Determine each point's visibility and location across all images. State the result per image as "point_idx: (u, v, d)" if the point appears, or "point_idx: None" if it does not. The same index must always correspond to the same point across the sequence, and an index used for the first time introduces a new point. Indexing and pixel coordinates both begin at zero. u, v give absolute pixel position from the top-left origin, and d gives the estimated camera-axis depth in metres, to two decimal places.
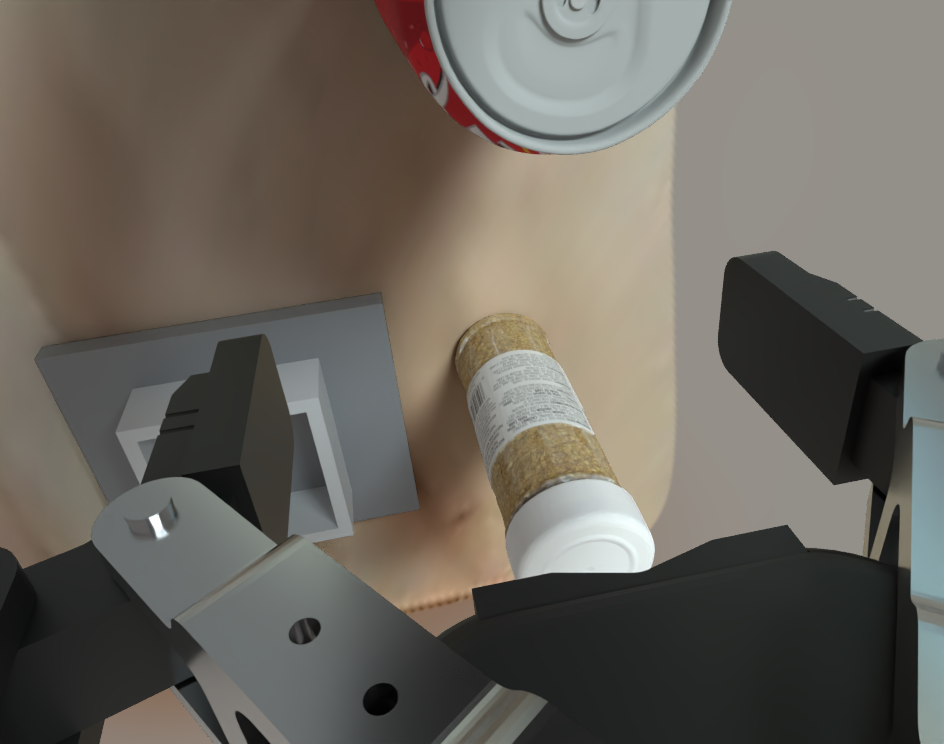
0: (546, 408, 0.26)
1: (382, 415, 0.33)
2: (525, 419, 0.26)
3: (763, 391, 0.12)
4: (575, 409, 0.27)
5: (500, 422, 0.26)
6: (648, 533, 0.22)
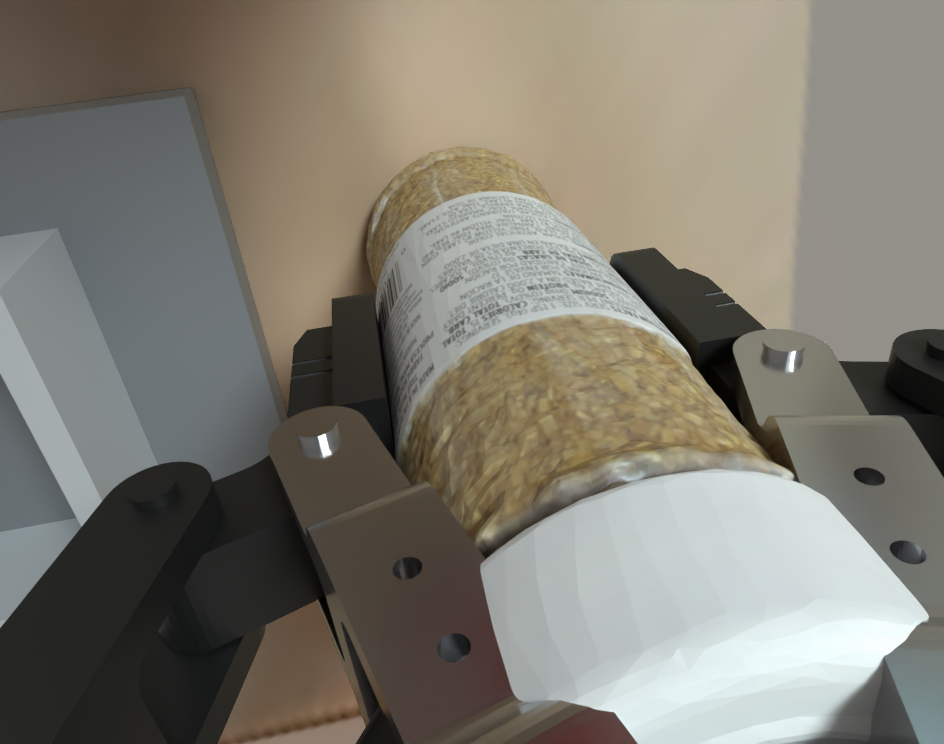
0: (553, 284, 0.09)
1: (221, 364, 0.16)
2: (494, 311, 0.09)
3: None
4: (632, 296, 0.10)
5: (428, 328, 0.10)
6: None
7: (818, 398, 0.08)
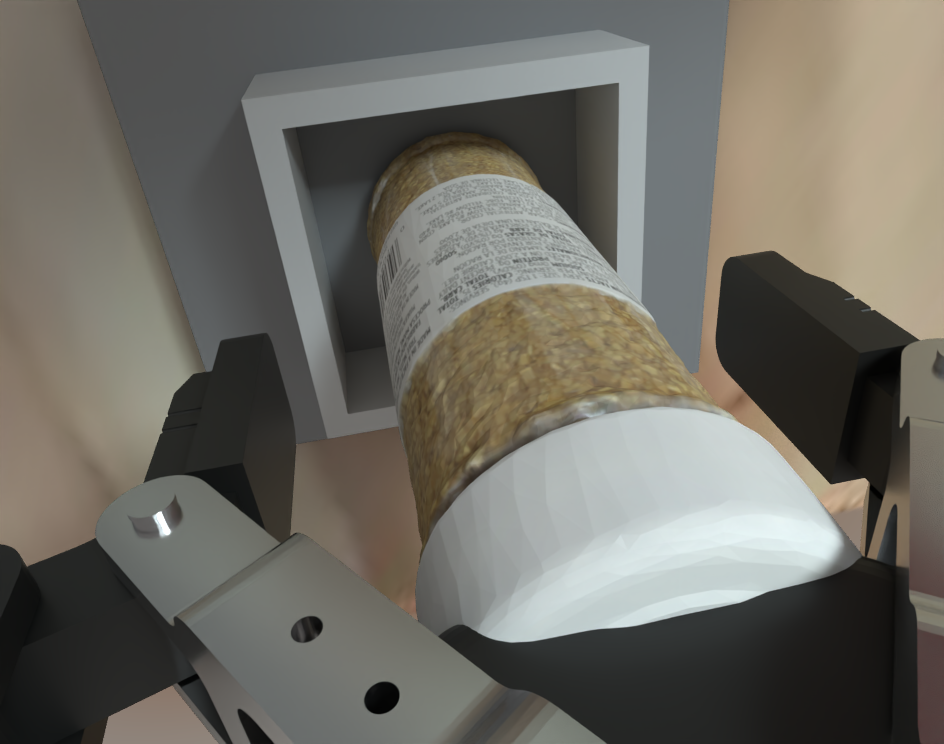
0: (535, 258, 0.11)
1: (682, 172, 0.18)
2: (483, 282, 0.10)
3: (760, 390, 0.12)
4: (606, 269, 0.11)
5: (426, 297, 0.11)
6: None
7: None
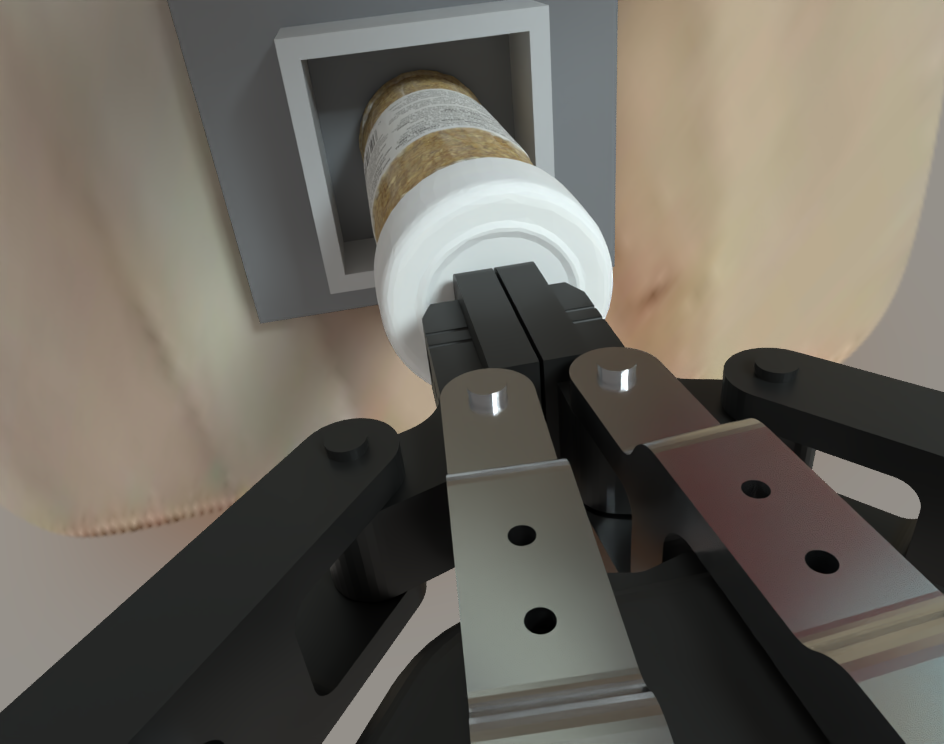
0: (456, 118, 0.17)
1: (591, 105, 0.25)
2: (422, 130, 0.17)
3: None
4: (503, 131, 0.18)
5: (389, 146, 0.17)
6: (600, 234, 0.13)
7: (666, 411, 0.08)
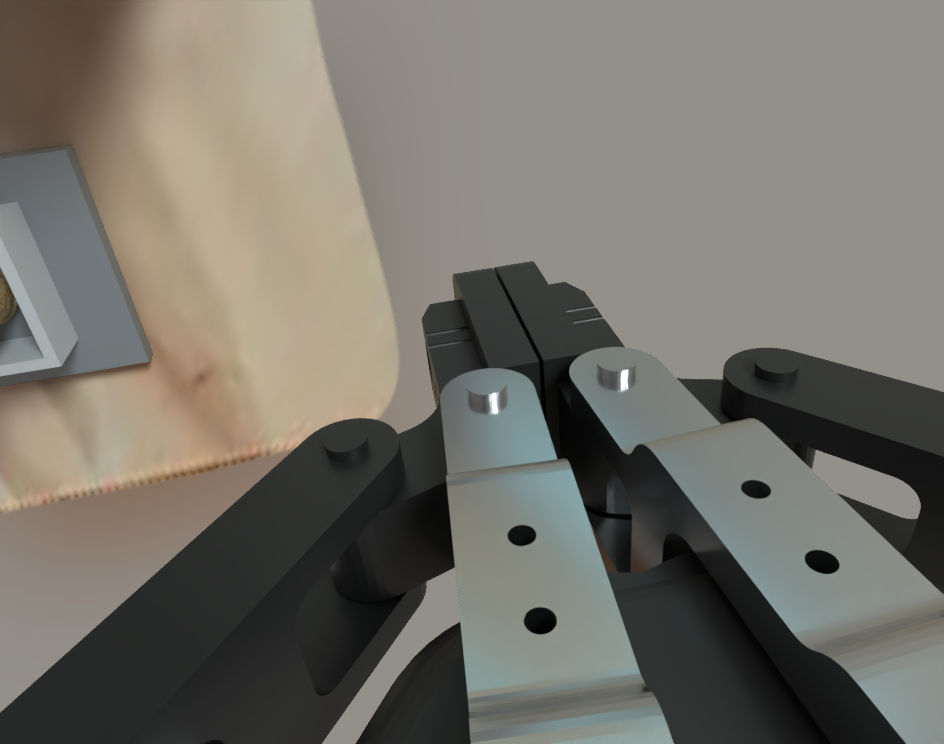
0: None
1: (91, 262, 0.37)
2: None
3: None
4: None
5: None
6: None
7: (667, 411, 0.08)
